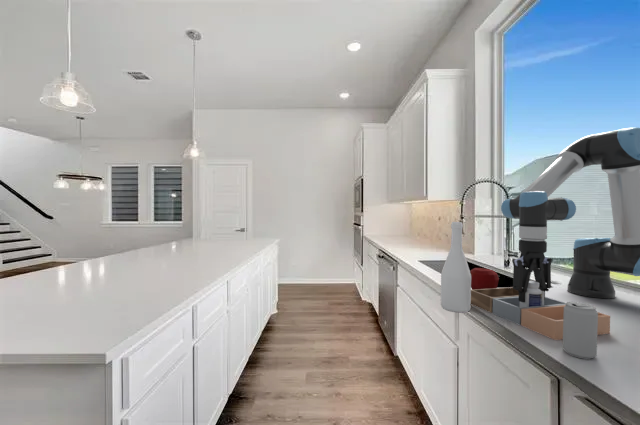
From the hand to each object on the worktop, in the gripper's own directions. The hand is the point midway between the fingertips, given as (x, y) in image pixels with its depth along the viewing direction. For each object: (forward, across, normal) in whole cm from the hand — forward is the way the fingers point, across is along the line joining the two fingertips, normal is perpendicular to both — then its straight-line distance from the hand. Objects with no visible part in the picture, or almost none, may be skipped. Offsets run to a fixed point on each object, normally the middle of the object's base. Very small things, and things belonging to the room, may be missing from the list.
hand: (531, 310), depth 103 cm
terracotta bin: (+2, +1, +11) cm, 11 cm away
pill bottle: (+1, 0, 0) cm, 1 cm away
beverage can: (+2, +13, +24) cm, 27 cm away
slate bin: (+2, +1, 0) cm, 2 cm away
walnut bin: (+2, +1, -11) cm, 11 cm away
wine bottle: (+2, +20, -12) cm, 23 cm away
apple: (+2, -2, -24) cm, 24 cm away
